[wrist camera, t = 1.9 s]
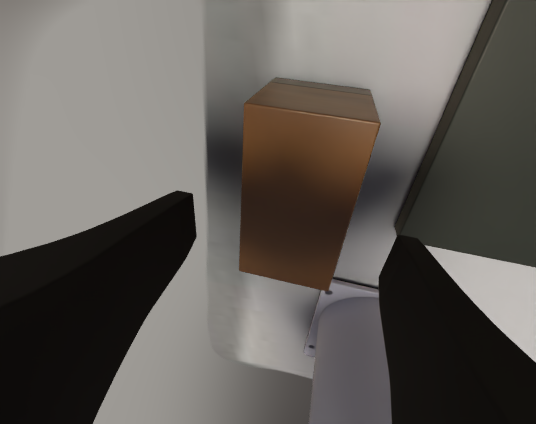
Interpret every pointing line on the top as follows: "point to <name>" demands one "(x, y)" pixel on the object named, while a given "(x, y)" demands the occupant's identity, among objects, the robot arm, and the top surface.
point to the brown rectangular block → (302, 177)
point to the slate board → (484, 149)
